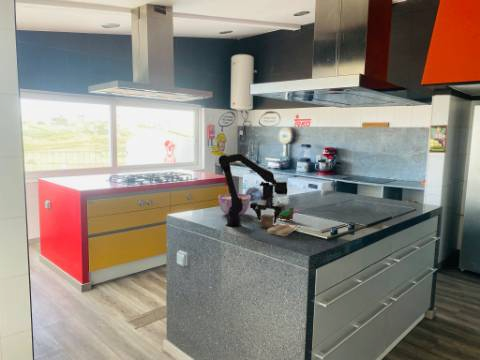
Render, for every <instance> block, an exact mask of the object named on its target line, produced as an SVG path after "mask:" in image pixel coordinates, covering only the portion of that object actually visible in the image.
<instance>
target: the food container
mask: <svg viewBox="0 0 480 360" xmlns="http://www.w3.org/2000/svg"><path fill="white" fill-rule="evenodd" d="M275 204H276V205H284V206H285V211H283V212H281V213H280V214H279V216H278V218H280V219H286V220H290V219H292V220H293V218H294V211H295V209H296V208H295V207H296V206H295V204H288V203H286V202H285V203H282V202H280V200H278V201H276V203H275ZM276 205H275V206H276ZM278 218H277V219H278Z"/></svg>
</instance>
